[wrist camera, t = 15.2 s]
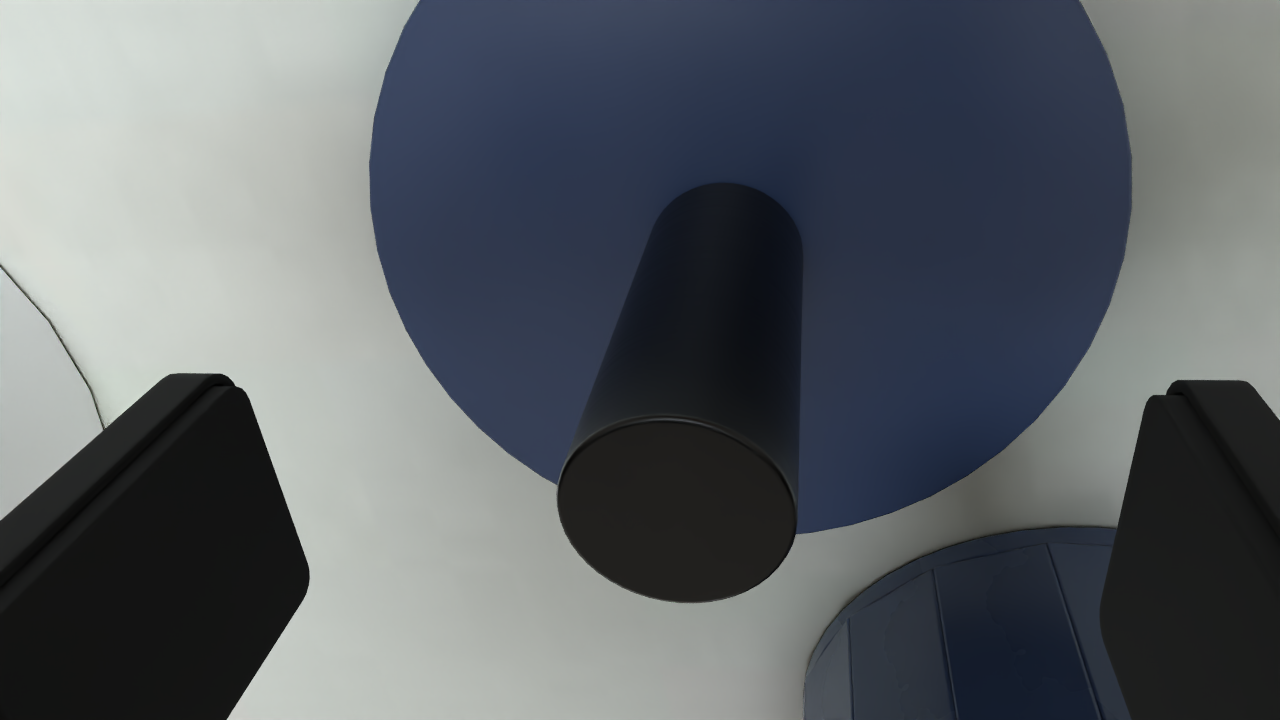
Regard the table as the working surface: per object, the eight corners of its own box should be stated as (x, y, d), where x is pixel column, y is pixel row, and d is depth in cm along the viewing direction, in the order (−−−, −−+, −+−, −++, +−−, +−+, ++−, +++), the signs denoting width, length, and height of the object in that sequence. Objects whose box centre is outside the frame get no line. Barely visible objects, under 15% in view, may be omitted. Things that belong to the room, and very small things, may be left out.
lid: (990, -373, 11) (1230, -609, 5) (1180, 401, 15) (1422, 798, 9) (260, 44, 15) (-134, 216, 9) (587, 556, 20) (483, 902, 13)
